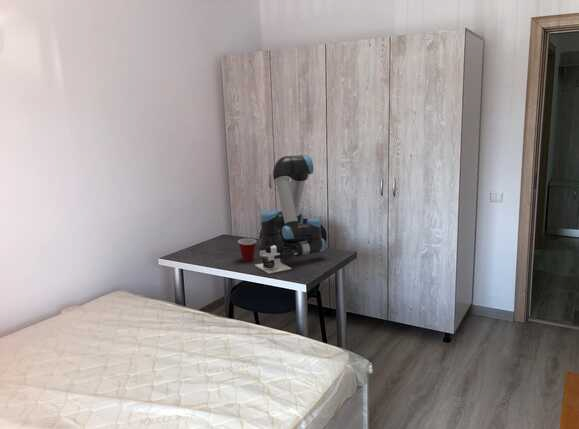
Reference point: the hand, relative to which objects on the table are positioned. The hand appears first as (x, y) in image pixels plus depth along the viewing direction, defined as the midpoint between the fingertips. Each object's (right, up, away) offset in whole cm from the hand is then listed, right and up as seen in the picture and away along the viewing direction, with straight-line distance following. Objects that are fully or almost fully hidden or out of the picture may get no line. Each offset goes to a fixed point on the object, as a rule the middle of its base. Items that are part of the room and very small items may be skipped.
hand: (264, 255), depth 256 cm
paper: (+5, -7, +7) cm, 11 cm away
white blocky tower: (+4, -7, +3) cm, 8 cm away
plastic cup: (-10, -5, +22) cm, 25 cm away
